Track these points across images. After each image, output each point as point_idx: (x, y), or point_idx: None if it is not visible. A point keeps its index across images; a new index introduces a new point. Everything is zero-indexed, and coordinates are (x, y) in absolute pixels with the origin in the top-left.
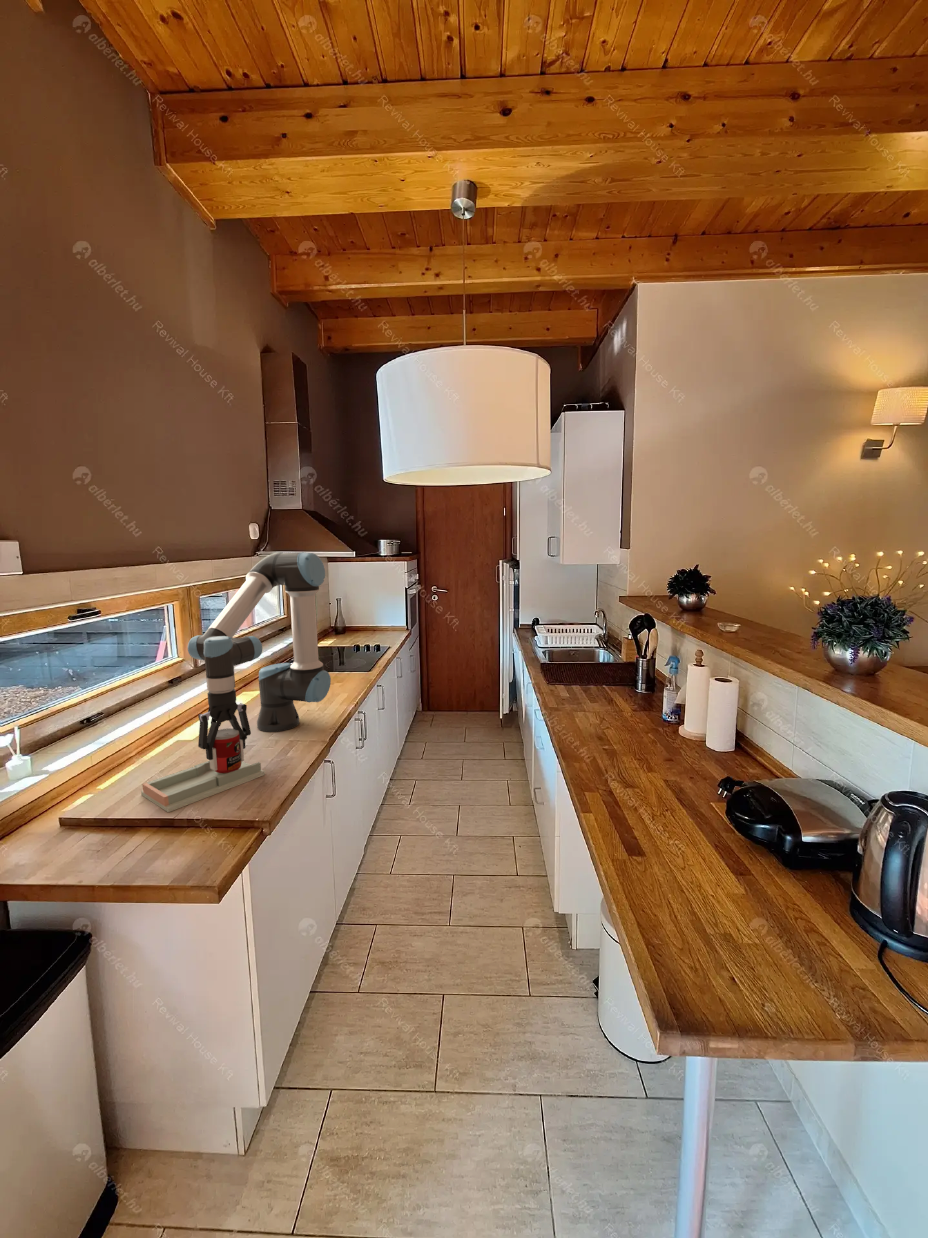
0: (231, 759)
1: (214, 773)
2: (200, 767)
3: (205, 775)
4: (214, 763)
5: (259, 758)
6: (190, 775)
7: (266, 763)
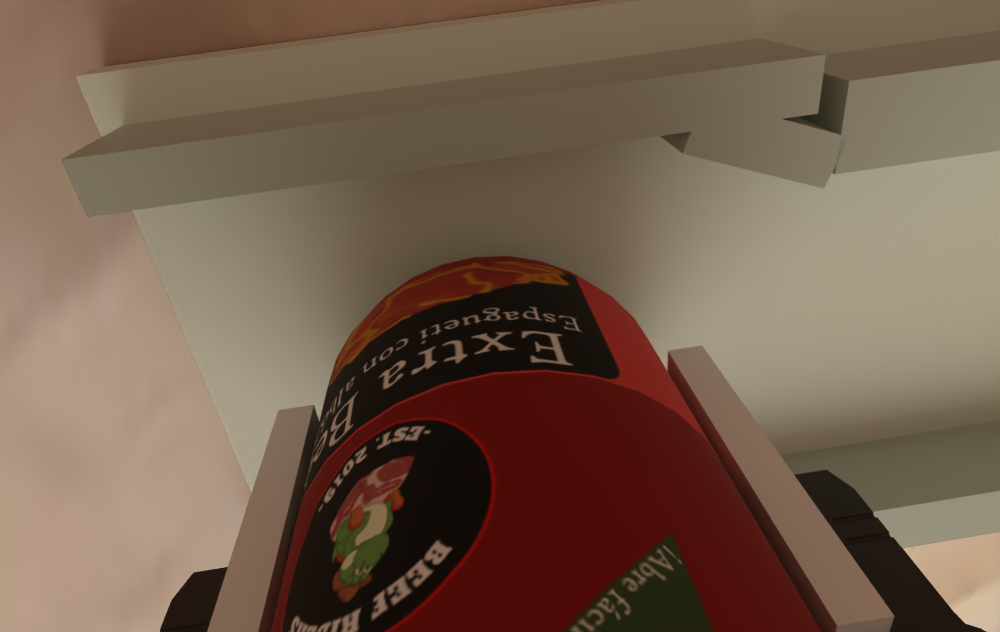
0: (533, 341)
1: None
2: None
3: None
4: (742, 411)
5: (75, 530)
6: None
7: (19, 383)
